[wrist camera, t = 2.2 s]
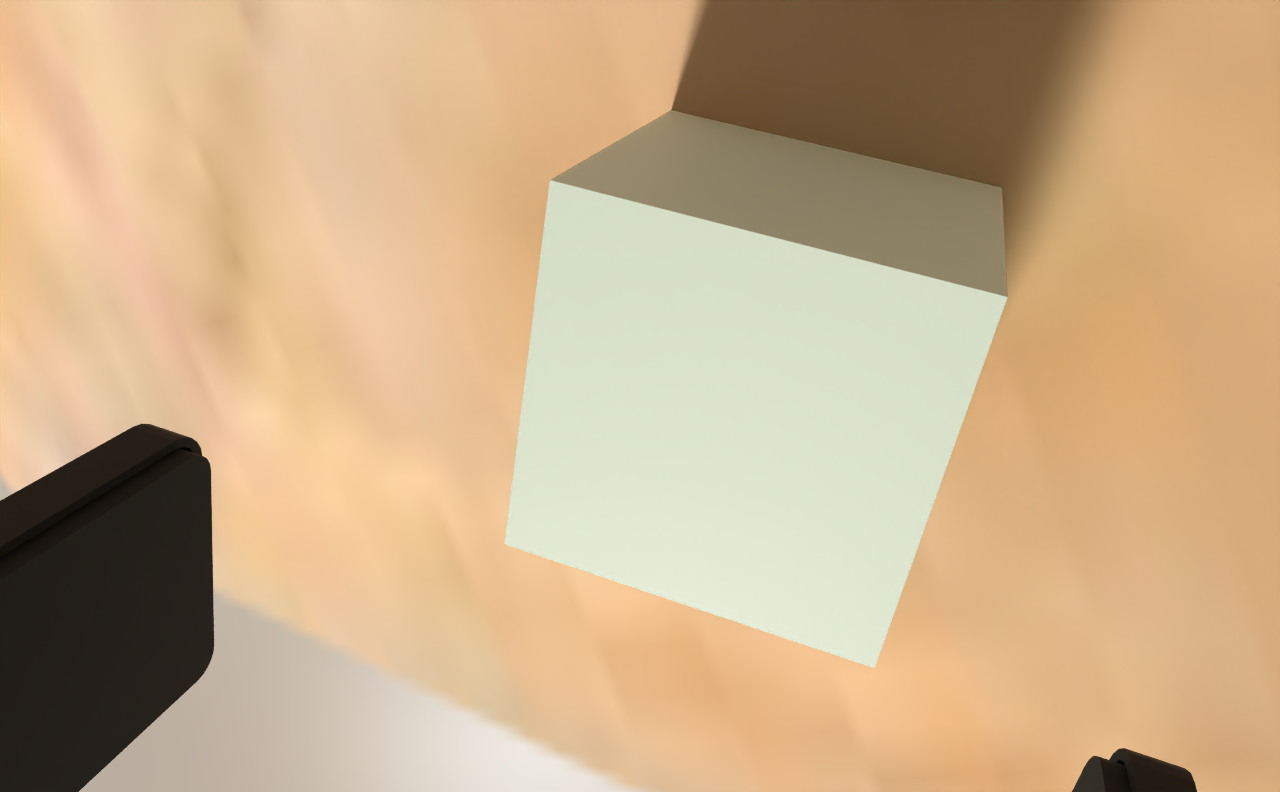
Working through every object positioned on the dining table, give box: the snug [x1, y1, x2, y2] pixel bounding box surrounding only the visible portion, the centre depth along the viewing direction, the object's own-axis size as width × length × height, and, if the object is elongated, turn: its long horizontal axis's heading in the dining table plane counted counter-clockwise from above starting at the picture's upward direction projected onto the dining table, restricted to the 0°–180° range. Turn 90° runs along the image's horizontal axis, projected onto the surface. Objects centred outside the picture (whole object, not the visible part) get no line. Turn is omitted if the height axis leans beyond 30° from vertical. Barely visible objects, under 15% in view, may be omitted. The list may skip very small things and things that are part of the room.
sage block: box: [505, 110, 1008, 668], centre depth 17 cm, size 6×6×6 cm
